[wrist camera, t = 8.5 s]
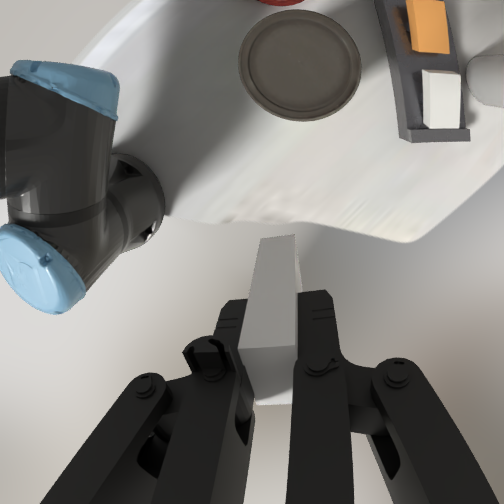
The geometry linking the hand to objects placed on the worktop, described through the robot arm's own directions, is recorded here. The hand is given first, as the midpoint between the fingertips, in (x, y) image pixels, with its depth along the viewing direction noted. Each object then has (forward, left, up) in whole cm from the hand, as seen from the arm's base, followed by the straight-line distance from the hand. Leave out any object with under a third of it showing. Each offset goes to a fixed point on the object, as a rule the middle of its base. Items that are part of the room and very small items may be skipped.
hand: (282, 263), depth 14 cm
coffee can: (+3, +10, -29) cm, 30 cm away
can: (+31, +9, -29) cm, 43 cm away
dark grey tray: (+20, +16, -28) cm, 38 cm away
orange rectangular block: (+20, +16, -23) cm, 34 cm away
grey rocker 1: (+20, +6, -23) cm, 31 cm away
